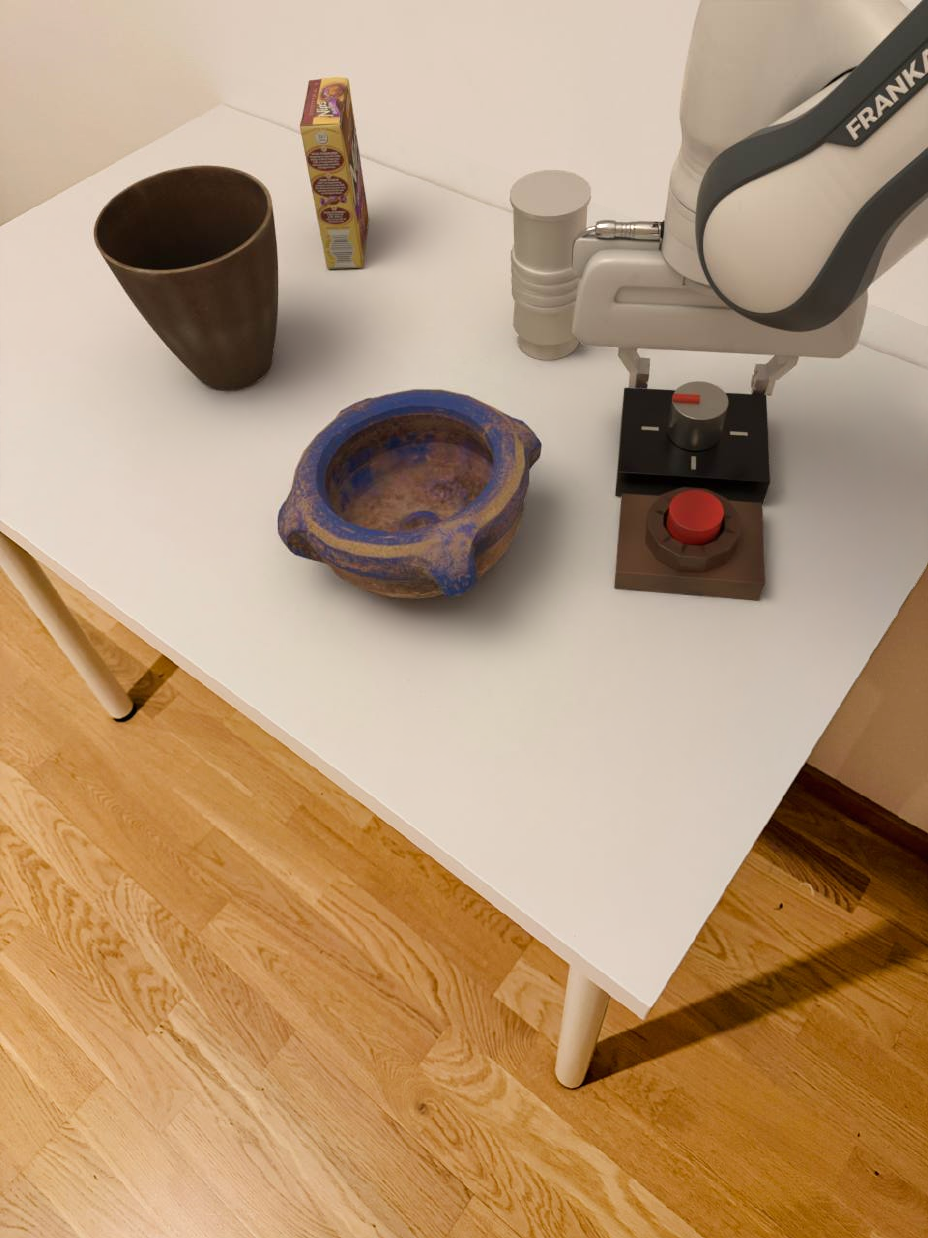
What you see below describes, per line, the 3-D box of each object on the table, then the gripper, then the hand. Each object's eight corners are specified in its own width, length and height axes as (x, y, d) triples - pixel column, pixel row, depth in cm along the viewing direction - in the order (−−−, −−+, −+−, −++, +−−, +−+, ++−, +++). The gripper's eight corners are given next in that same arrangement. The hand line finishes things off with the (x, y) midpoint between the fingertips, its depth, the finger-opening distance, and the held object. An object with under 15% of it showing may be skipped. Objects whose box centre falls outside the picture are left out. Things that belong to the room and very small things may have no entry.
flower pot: (342, 348, 89) (308, 195, 75) (238, 442, 82) (180, 292, 69) (234, 299, 94) (184, 147, 81) (128, 383, 88) (55, 234, 75)
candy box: (367, 268, 96) (340, 123, 83) (327, 271, 96) (294, 126, 83) (372, 219, 101) (348, 74, 88) (334, 221, 101) (305, 77, 88)
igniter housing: (756, 520, 73) (767, 486, 70) (759, 600, 69) (770, 569, 66) (620, 510, 75) (623, 477, 72) (614, 588, 71) (617, 557, 67)
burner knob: (721, 414, 76) (728, 379, 73) (721, 452, 74) (729, 418, 70) (667, 411, 77) (673, 376, 73) (666, 449, 74) (671, 414, 71)
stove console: (759, 420, 79) (767, 392, 77) (762, 506, 74) (771, 480, 71) (621, 412, 81) (624, 385, 79) (614, 496, 76) (617, 470, 73)
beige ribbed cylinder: (596, 351, 86) (606, 203, 73) (528, 371, 85) (526, 224, 73) (568, 308, 90) (573, 161, 77) (502, 327, 89) (497, 181, 76)
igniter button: (720, 506, 70) (723, 491, 68) (720, 547, 68) (724, 532, 66) (667, 503, 70) (670, 487, 69) (665, 543, 68) (668, 528, 67)
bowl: (376, 440, 81) (358, 351, 73) (562, 497, 76) (565, 408, 68) (270, 590, 73) (236, 509, 64) (472, 666, 68) (463, 587, 59)
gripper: (569, 248, 59) (562, 406, 71) (897, 260, 56) (835, 422, 68) (577, 193, 63) (569, 352, 74) (886, 202, 60) (829, 365, 71)
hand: (698, 386), depth 71 cm, fingers open, 8 cm apart
